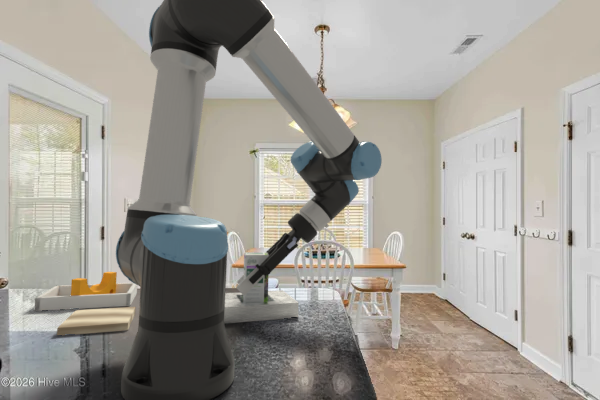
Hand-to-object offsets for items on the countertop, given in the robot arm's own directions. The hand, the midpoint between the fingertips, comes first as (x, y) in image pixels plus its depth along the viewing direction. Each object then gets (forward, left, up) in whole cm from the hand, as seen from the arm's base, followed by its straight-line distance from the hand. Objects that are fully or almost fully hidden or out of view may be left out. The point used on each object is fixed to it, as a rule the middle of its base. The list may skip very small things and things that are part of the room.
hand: (240, 288), depth 82 cm
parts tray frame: (+19, +35, -6) cm, 41 cm away
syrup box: (-1, -4, -6) cm, 7 cm away
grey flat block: (-1, -4, -6) cm, 7 cm away
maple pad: (-1, +29, -6) cm, 30 cm away
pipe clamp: (+19, +35, -6) cm, 41 cm away
